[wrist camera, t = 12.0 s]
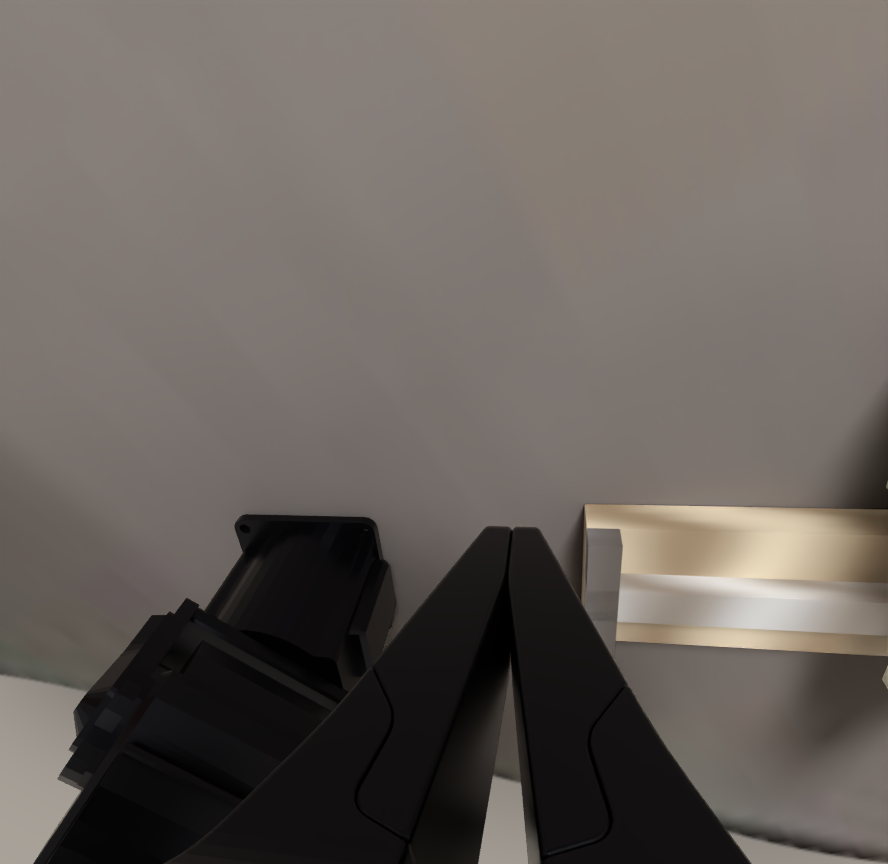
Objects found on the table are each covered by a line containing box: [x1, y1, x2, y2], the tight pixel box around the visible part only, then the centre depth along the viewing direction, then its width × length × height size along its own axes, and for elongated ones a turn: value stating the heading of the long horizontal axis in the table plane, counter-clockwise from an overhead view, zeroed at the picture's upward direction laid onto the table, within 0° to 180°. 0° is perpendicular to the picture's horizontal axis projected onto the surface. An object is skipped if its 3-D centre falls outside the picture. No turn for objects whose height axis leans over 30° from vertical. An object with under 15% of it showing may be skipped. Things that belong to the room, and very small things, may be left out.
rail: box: [581, 504, 888, 658], centre depth 22 cm, size 18×6×2 cm, turn 95°
